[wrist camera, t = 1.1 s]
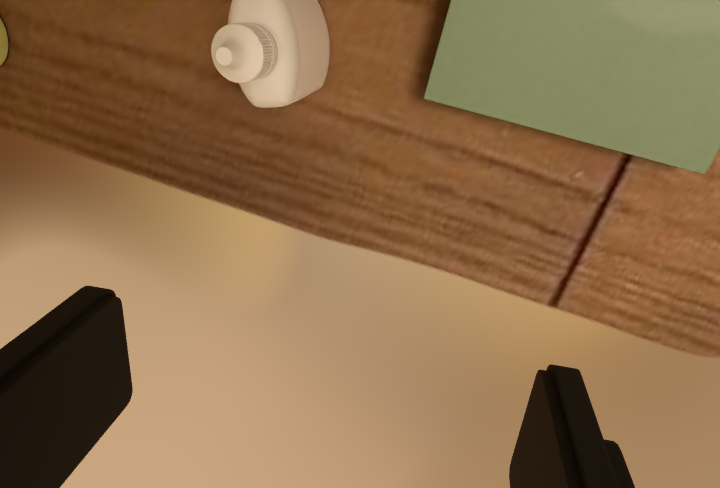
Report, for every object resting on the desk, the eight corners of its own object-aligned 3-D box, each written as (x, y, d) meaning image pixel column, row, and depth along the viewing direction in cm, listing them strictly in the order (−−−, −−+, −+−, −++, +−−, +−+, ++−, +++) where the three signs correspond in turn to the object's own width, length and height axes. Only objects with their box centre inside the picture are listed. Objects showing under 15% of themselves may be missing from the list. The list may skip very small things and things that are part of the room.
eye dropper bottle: (354, 12, 31) (298, 11, 20) (318, 101, 33) (251, 143, 22) (286, -22, 30) (193, -42, 20) (255, 69, 33) (157, 96, 22)
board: (491, -143, 27) (494, -157, 24) (807, -66, 26) (841, -74, 23) (425, 92, 32) (423, 98, 29) (687, 163, 31) (705, 175, 29)
